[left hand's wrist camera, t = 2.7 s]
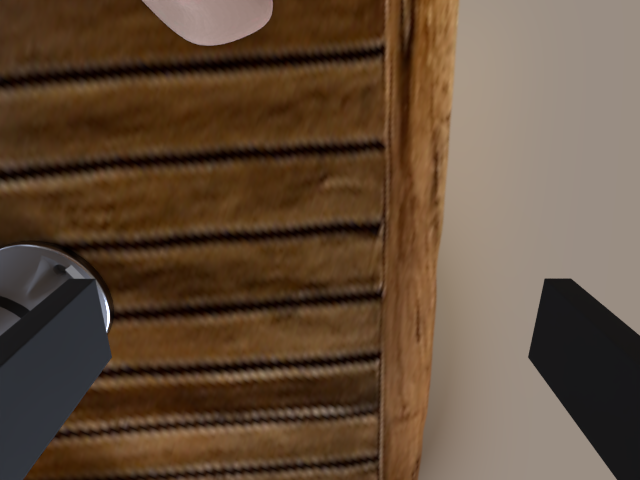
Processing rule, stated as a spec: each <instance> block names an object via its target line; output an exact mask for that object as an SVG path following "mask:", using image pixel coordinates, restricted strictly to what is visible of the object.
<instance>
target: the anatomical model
mask: <svg viewBox="0 0 640 480" xmlns="http://www.w3.org/2000/svg"><path fill="white" fill-rule="evenodd" d="M142 1H143V2H144V3H145V4H146V5H147V6H148V7H149V8H150V9H151V10H152V11H153V12H154V13H155V14H156V15H157V16H158V17H159V18H160V19H161V20H162V21H163V22H164V23H165V24H166V25H167V26H168V27H170V28H171V29H172V30H173V31H175V32H176V33H177V34H178V35H180V36H181V37H183V38H184V39H186V40H188V41H190V42H192V43H195V44H198V45H210V46H211V45H220V44H224V43H228V42H232V41H235V40H238V39H240V38H243V37H245V36H247V35H250V34H252V33H253V32H255V31H257V30H259V29H260V28H262V27H263V26H264V25H265V24H266V23H267V22H268V21H269V19H270V17H271V15H272V9H273V0H142Z"/></svg>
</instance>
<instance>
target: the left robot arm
mask: <svg viewBox="0 0 640 480" xmlns="http://www.w3.org/2000/svg"><path fill="white" fill-rule="evenodd" d="M113 317H114V307H113V301H112V297H111V294H110V292H109V289H108V287H107V285H106V283H105V282H104V280H103V279H102V277H101V276H100V275H99V273H98V272H97V271H96V270H95V269H94V268H93V267H92V266H91V265H90V264H89V263H88V262H87V261H85V260H84V259H83V258H81V257H80V256H78V255H77V254H75V253H73V252H72V251H70V250H68V249H65V248H63V247H61V246H58V245H55V244H51V243H47V242H41V241H21V242H15V243H12V244H9V245H6V246H4V247H2V248H0V480H23V479H24V477H25V476H26V475H27V473H28V472H29V471H30V469H31V468H32V466H33V465H34V464H35V462H36V461H37V460H38V458H39V457H40V455H41V454H42V453H43V451H44V450H45V449H46V447H47V446H48V444H49V443H50V442H51V440H52V439H53V438H54V436H55V435H56V433H57V432H58V431H59V429H60V428H61V427H62V425H63V424H64V422H65V421H66V420H67V418H68V417H69V415H70V414H71V413H72V411H73V410H74V409H75V407H76V406H77V404H78V403H79V402H80V400H81V399H82V398H83V396H84V395H85V393H86V392H87V391H88V389H89V388H90V387H91V385H92V384H93V382H94V381H95V380H96V378H97V377H98V376H99V374H100V373H101V371H102V370H103V369H104V367H105V366H106V365H107V363H108V362H109V360H110V359H111V358H112V356H111V351H110V346H109V342H108V337H107V335H108V333H109V331H110V329H111V326H112V323H113ZM528 358H529V359H530V360H531V362H532V363H533V364H534V366H535V367H536V369H537V370H538V371H539V373H540V374H541V376H542V377H543V378H544V380H545V381H546V382H547V384H548V385H549V387H550V388H551V389H552V391H553V392H554V393H555V395H556V396H557V398H558V399H559V400H560V402H561V403H562V404H563V406H564V407H565V409H566V410H567V411H568V413H569V414H570V415H571V417H572V418H573V420H574V421H575V422H576V424H577V425H578V427H579V428H580V429H581V431H582V432H583V433H584V435H585V436H586V437H587V439H588V440H589V442H590V443H591V444H592V446H593V447H594V448H595V450H596V451H597V453H598V454H599V455H600V457H601V458H602V460H603V461H604V462H605V464H606V465H607V466H608V468H609V469H610V471H611V472H612V473H613V475H614V476H615V477H616V479H617V480H640V335H638V334H637V333H636V332H635V331H633V330H632V329H631V328H630V327H629V326H627V325H626V324H625V323H624V322H623V321H621V320H620V319H619V318H618V317H617V316H615V315H614V314H613V313H612V312H611V311H609V310H608V309H607V308H606V307H605V306H603V305H602V304H601V303H600V302H599V301H597V300H596V299H595V298H594V297H592V296H591V295H590V294H589V293H588V292H586V291H585V290H584V289H583V288H582V287H580V286H579V285H578V284H577V283H576V282H574V281H573V280H572V279H545V280H544V285H543V289H542V294H541V299H540V304H539V308H538V313H537V318H536V323H535V327H534V332H533V337H532V342H531V346H530V351H529V356H528Z"/></svg>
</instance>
